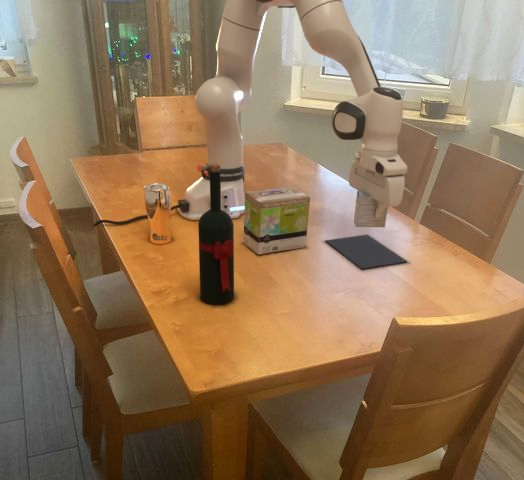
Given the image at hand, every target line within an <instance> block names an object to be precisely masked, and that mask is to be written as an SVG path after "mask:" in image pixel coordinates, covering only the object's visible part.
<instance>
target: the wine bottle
mask: <svg viewBox="0 0 524 480" xmlns="http://www.w3.org/2000/svg"><path fill="white" fill-rule="evenodd" d="M210 169H211V170H210V210H208V211H207V212H205V213H204V214H203V215H202V216H201V217H200V219H199V220H198V222H197V226H198V228H197V229H198V231H197V232H198V262H199V264H198V265H199V297H200V301H202V302H203V303H205V304H206V305H211V306H224V305H227V304H230V303H232V302H233V300H234V299H235V255H234V254H235V236H234V235H235V233H234V232H235V229H234V228H235V225H234V221H233V218H231V217H230V216H229V214H228V213H226V212H225V211H223V210H221V174H220V165H219V164H210Z"/></svg>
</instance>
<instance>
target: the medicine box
mask: <svg viewBox="0 0 524 480" xmlns="http://www.w3.org/2000/svg"><path fill="white" fill-rule="evenodd" d="M377 207H378V205H377V201H376V200H374V199H372V198H371V197H370V195H368V194H367V193H365V192H363V191H358V190H357V191H356V198H355V208H354V217H353V222H354V224H355V228H356V227H357V228H386V221H387V215H388V209H389V207H387V206H386V208H385V209H384V211H383V213H382V217H381V218H376V217H374V216H373V214H374V210H376V209H377Z"/></svg>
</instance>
